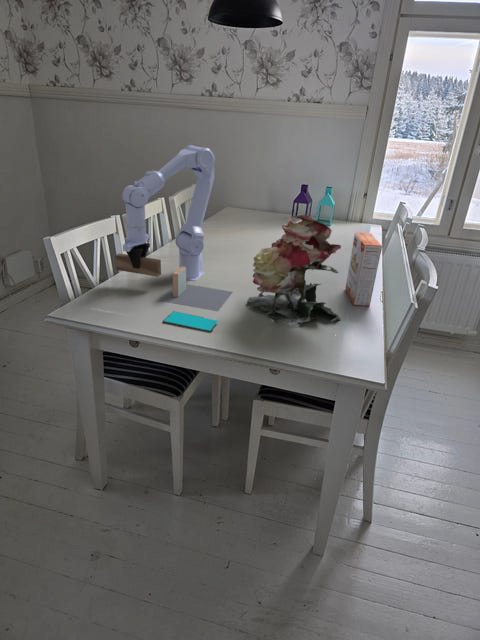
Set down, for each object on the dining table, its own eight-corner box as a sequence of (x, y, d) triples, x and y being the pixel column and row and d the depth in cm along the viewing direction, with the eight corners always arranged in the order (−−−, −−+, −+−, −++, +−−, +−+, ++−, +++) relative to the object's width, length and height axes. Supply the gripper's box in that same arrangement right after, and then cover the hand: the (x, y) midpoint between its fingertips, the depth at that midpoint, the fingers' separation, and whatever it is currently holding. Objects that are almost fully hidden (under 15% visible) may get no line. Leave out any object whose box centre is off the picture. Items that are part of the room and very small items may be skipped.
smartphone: (211, 331, 117) (162, 321, 121) (211, 334, 118) (162, 323, 121) (220, 320, 124) (173, 310, 127) (220, 322, 124) (173, 313, 128)
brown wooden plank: (120, 267, 143) (119, 253, 141) (161, 274, 140) (160, 259, 137) (116, 269, 141) (115, 255, 138) (157, 276, 137) (157, 262, 135)
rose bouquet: (289, 286, 151) (300, 200, 138) (349, 319, 130) (368, 222, 116) (228, 298, 138) (233, 206, 125) (283, 338, 117) (296, 231, 103)
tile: (181, 288, 142) (181, 266, 139) (186, 289, 142) (186, 267, 138) (173, 296, 136) (172, 273, 133) (178, 297, 136) (177, 274, 132)
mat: (178, 283, 147) (178, 282, 147) (233, 292, 143) (233, 291, 143) (157, 301, 133) (157, 300, 133) (217, 312, 129) (218, 311, 129)
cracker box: (343, 289, 152) (354, 231, 142) (360, 290, 152) (372, 232, 142) (351, 305, 139) (363, 244, 130) (370, 306, 139) (383, 245, 130)
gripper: (136, 219, 140) (138, 258, 146) (112, 229, 128) (116, 271, 134) (155, 221, 139) (156, 261, 145) (133, 232, 126) (136, 275, 132)
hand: (138, 266), depth 139 cm, fingers closed on brown wooden plank, 2 cm apart
